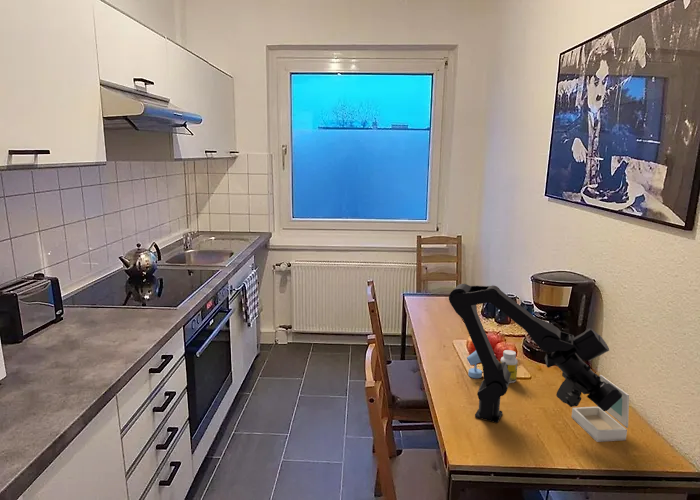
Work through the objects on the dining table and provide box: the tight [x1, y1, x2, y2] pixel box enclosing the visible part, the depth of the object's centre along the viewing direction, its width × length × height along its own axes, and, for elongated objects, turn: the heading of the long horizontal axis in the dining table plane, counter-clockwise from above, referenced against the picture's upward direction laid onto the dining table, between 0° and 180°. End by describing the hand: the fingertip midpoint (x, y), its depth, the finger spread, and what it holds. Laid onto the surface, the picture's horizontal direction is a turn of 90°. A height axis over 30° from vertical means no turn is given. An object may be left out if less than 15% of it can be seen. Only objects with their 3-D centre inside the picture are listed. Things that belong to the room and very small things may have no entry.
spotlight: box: [466, 350, 483, 379], centre depth 160 cm, size 5×10×7 cm
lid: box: [598, 374, 630, 429], centre depth 128 cm, size 9×12×1 cm
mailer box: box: [571, 406, 628, 443], centre depth 129 cm, size 8×12×3 cm, turn 5°
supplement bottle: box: [499, 349, 519, 384], centre depth 157 cm, size 5×5×10 cm
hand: (608, 403), depth 128 cm, fingers closed
